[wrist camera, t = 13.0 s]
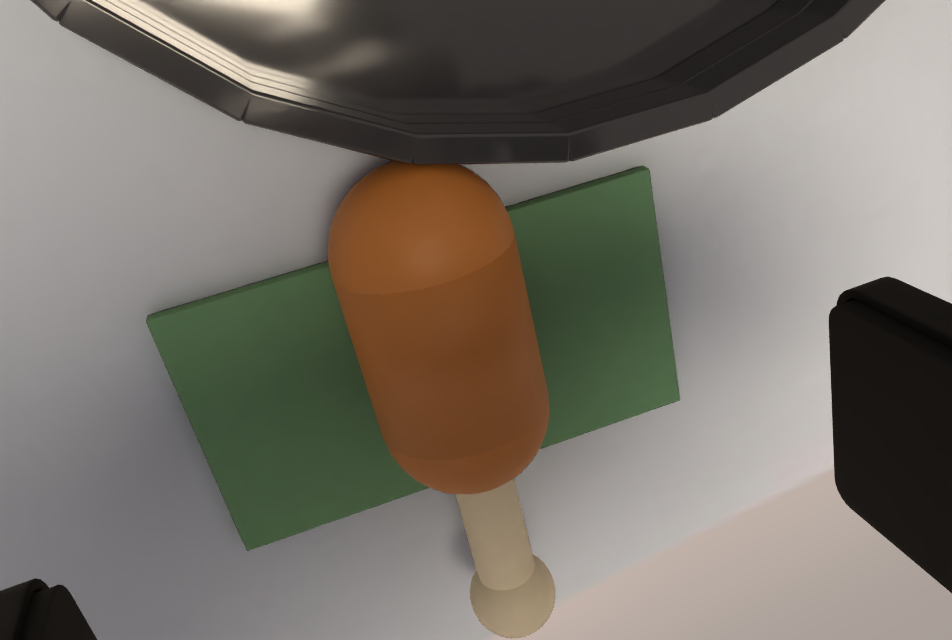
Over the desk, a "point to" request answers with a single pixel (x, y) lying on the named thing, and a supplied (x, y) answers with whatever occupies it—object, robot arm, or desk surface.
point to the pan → (467, 66)
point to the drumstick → (451, 361)
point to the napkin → (342, 383)
